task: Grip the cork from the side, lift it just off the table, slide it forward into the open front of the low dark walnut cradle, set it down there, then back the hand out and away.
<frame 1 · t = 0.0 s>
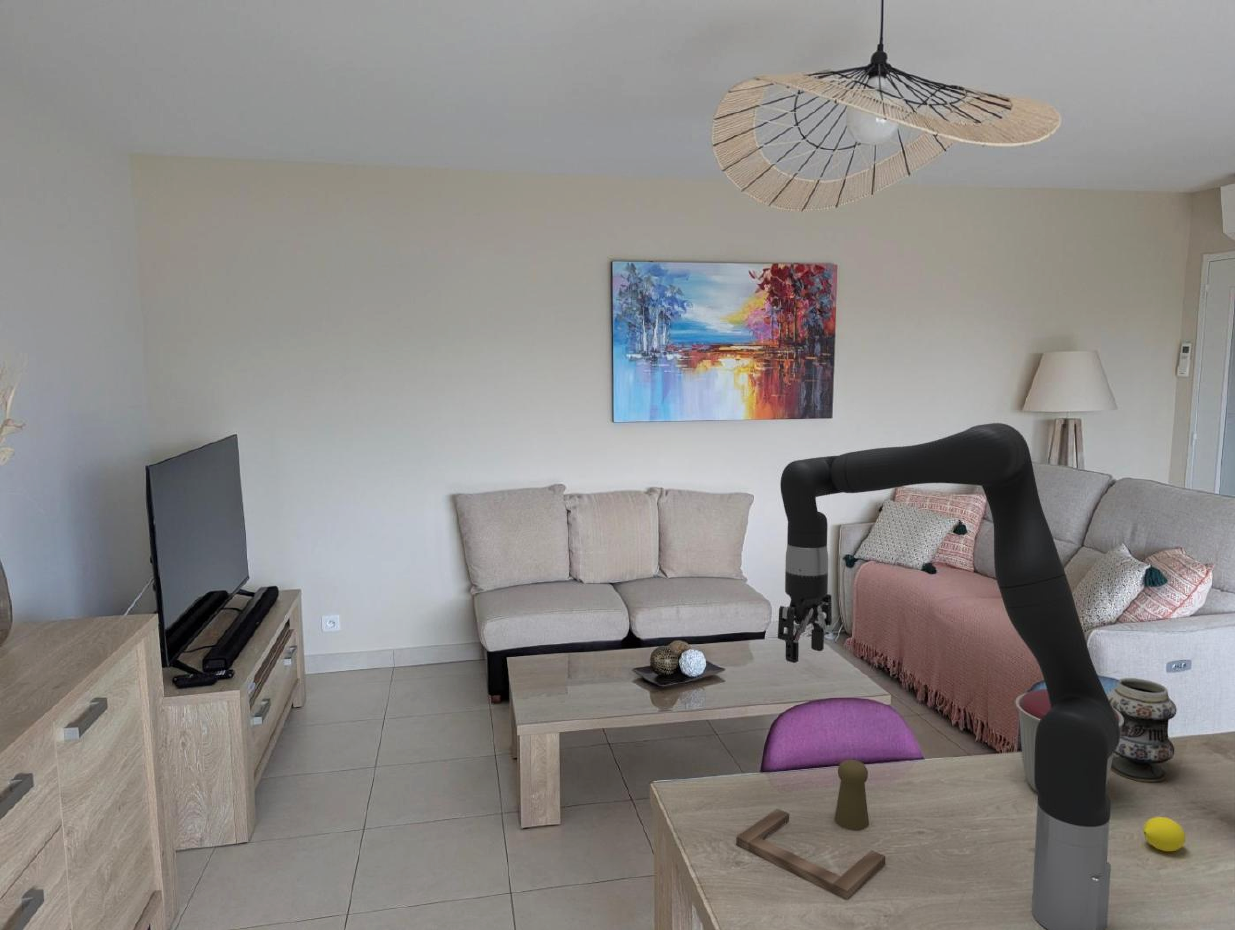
hand: (804, 655, 148), 29 cm above the table, tool pointing down, fingers open, 8 cm apart
lemon: (1162, 849, 137), on the table
walnut cradle: (813, 851, 137), on the table
cork: (851, 822, 146), on the table
apothecary jar: (1136, 771, 164), on the table
canister: (1063, 792, 156), on the table
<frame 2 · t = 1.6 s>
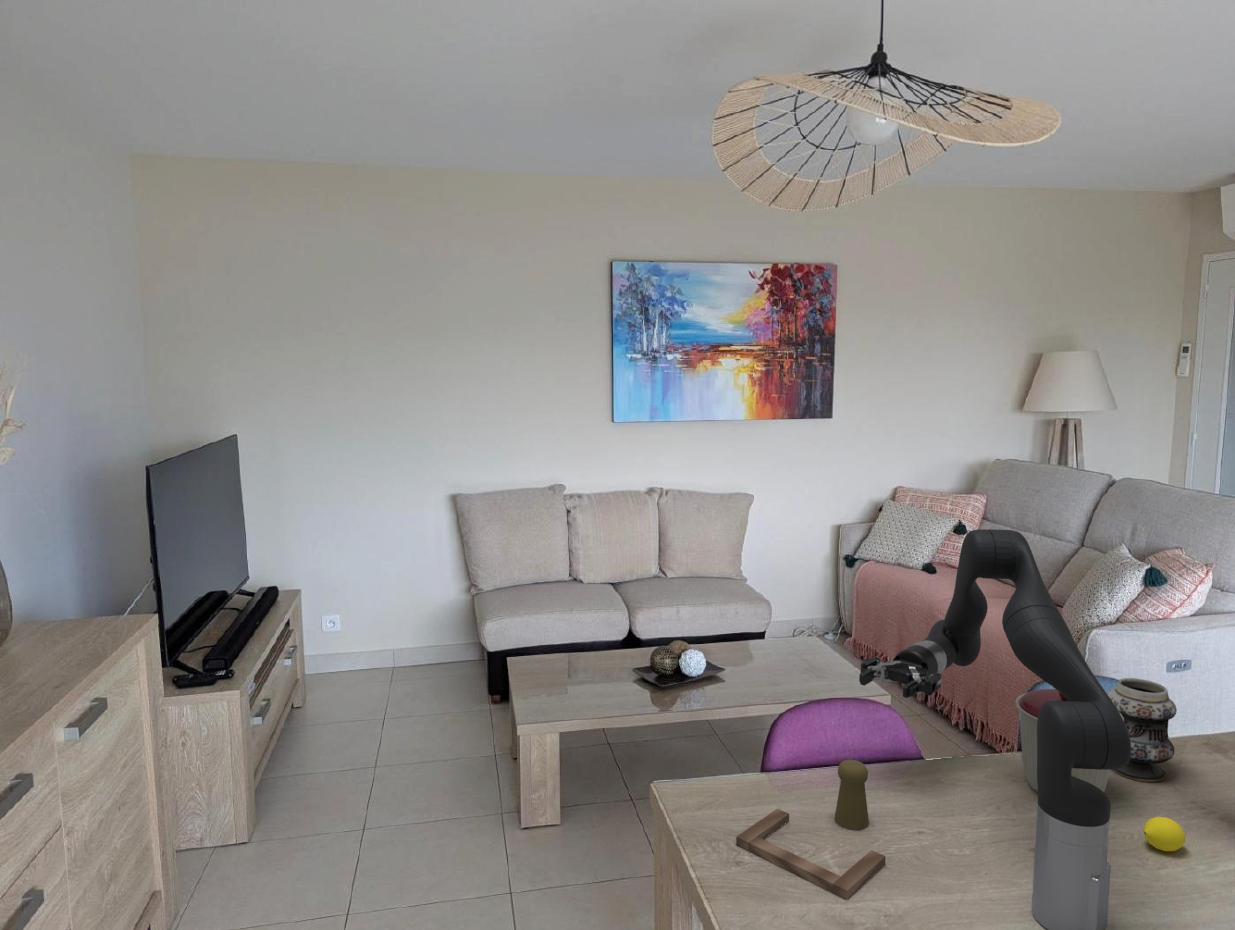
hand: (883, 686, 152), 22 cm above the table, tool horizontal, fingers open, 8 cm apart
nothing on the table moved.
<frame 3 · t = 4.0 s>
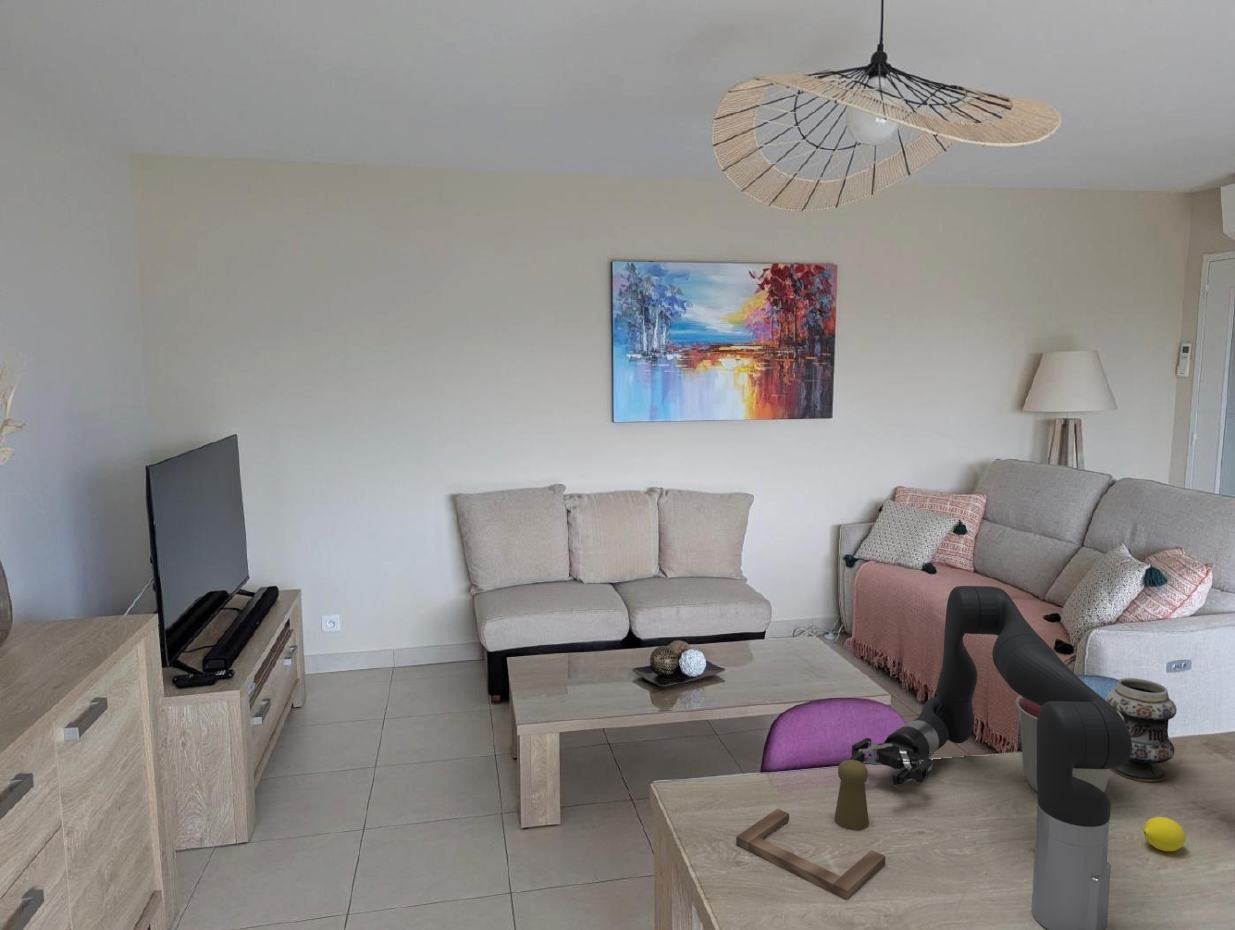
hand: (873, 772, 151), 6 cm above the table, tool horizontal, fingers open, 8 cm apart
nothing on the table moved.
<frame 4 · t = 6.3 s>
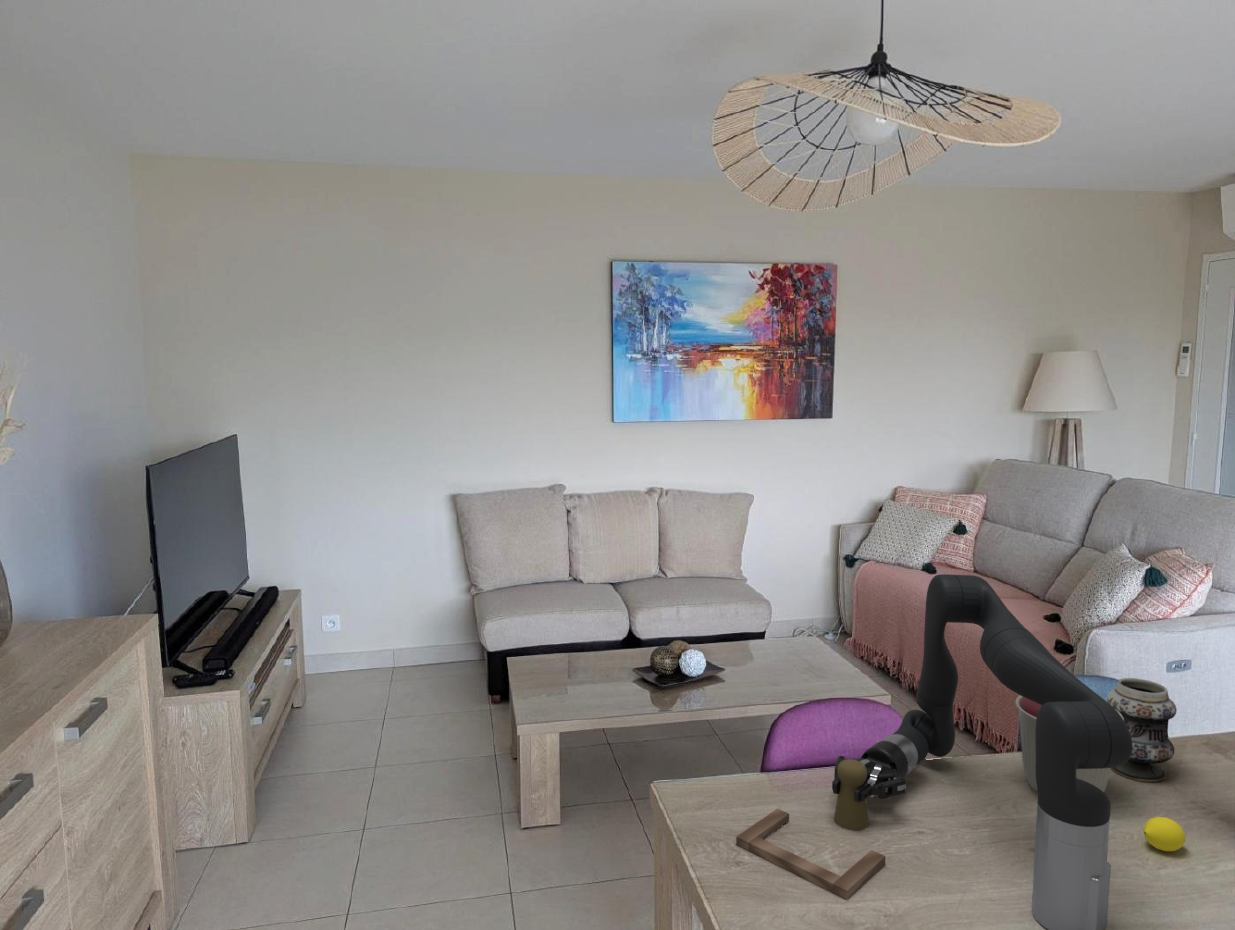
hand: (845, 792, 144), 7 cm above the table, tool horizontal, fingers closed on cork, 3 cm apart
cork: (851, 821, 146), on the table, touching gripper
everything else where it was.
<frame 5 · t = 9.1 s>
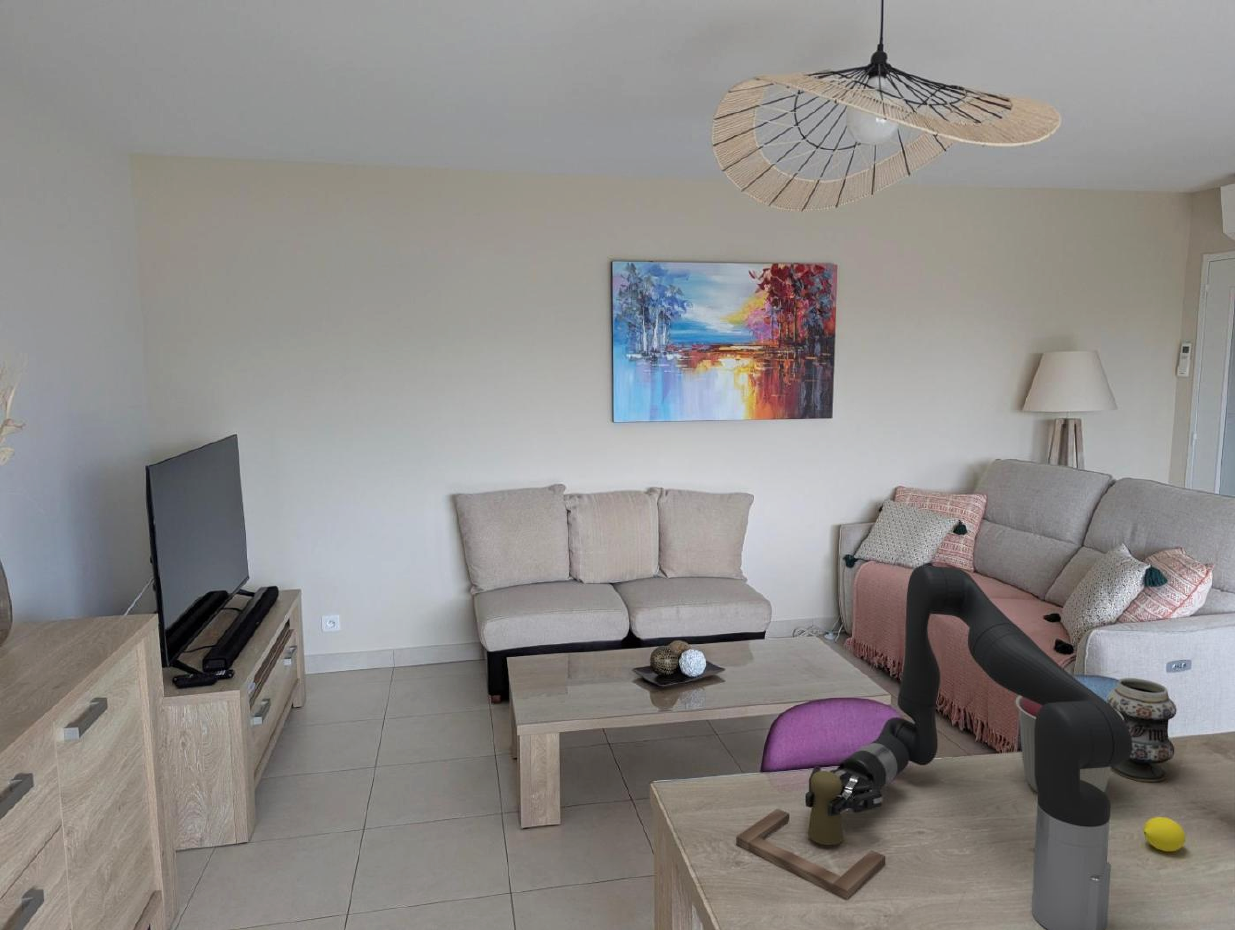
hand: (818, 806, 138), 7 cm above the table, tool horizontal, fingers closed on cork, 3 cm apart
cork: (825, 835, 141), point 1 cm above the table, touching gripper
everything else where it was.
when the fingers open (7 cm above the table, at t = 12.2 s): cork stays where it is, on the table.
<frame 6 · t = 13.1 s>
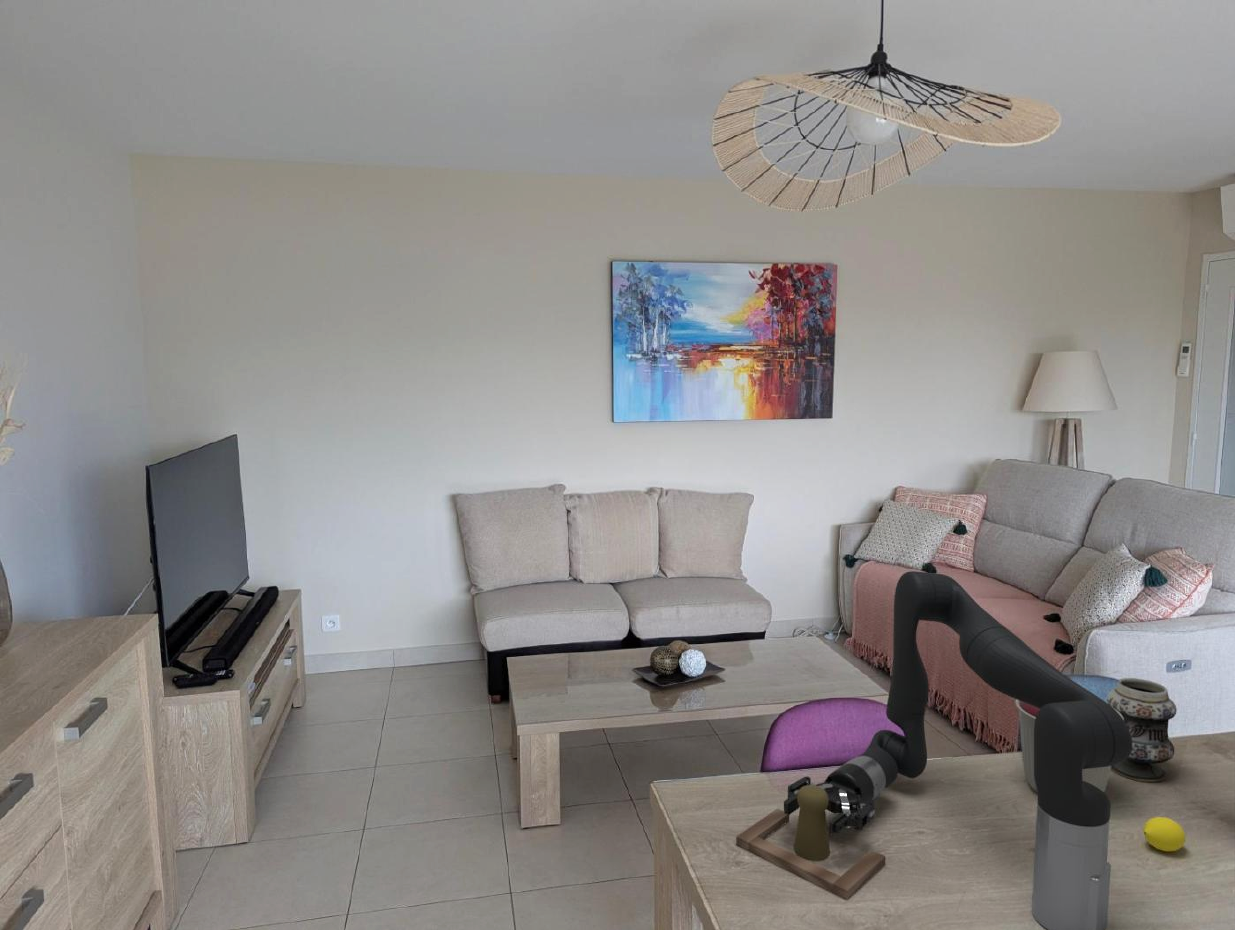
hand: (807, 819, 135), 7 cm above the table, tool horizontal, fingers open, 8 cm apart
cork: (811, 851, 138), on the table
everything else where it was.
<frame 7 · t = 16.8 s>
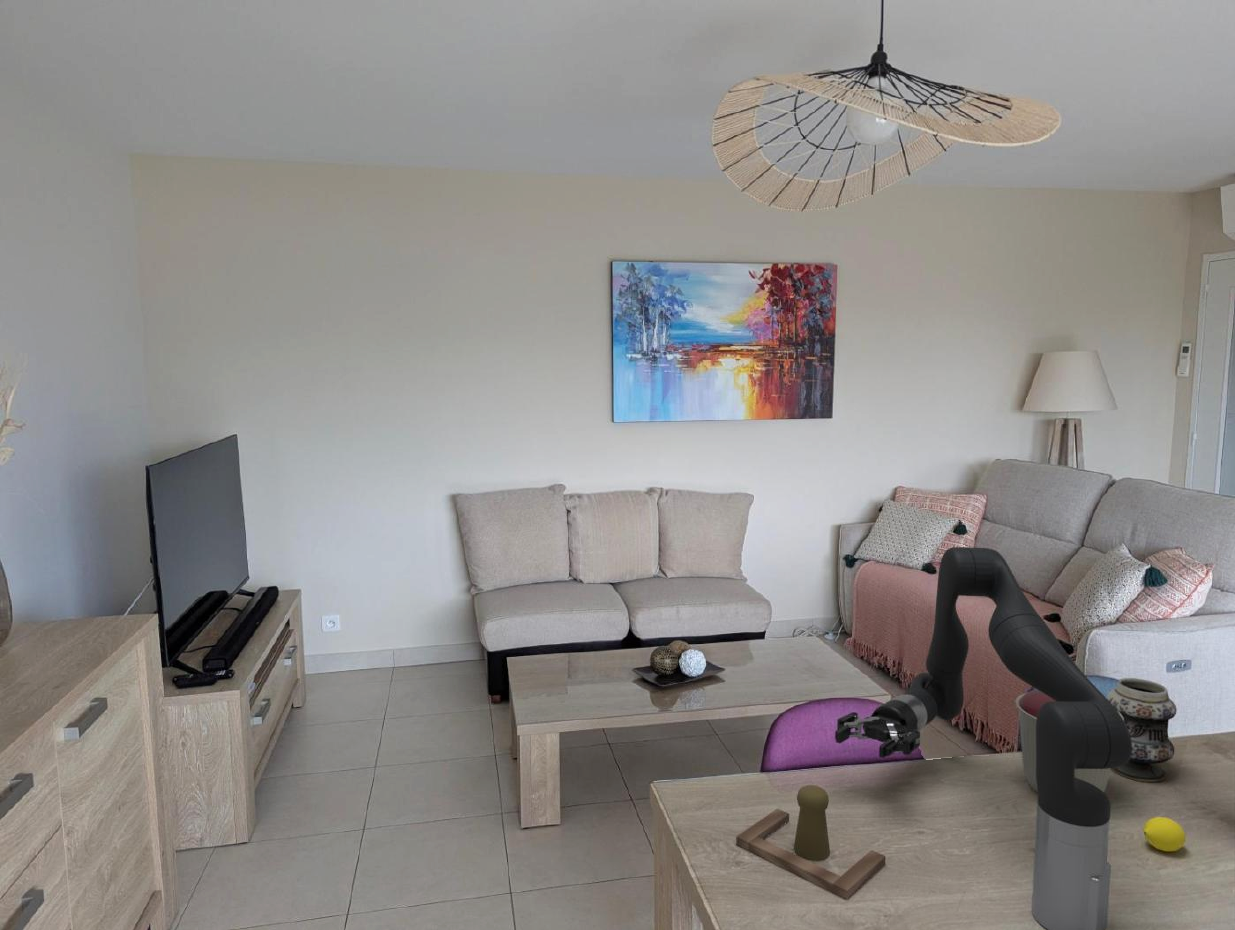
hand: (858, 745, 146), 14 cm above the table, tool horizontal, fingers open, 8 cm apart
nothing on the table moved.
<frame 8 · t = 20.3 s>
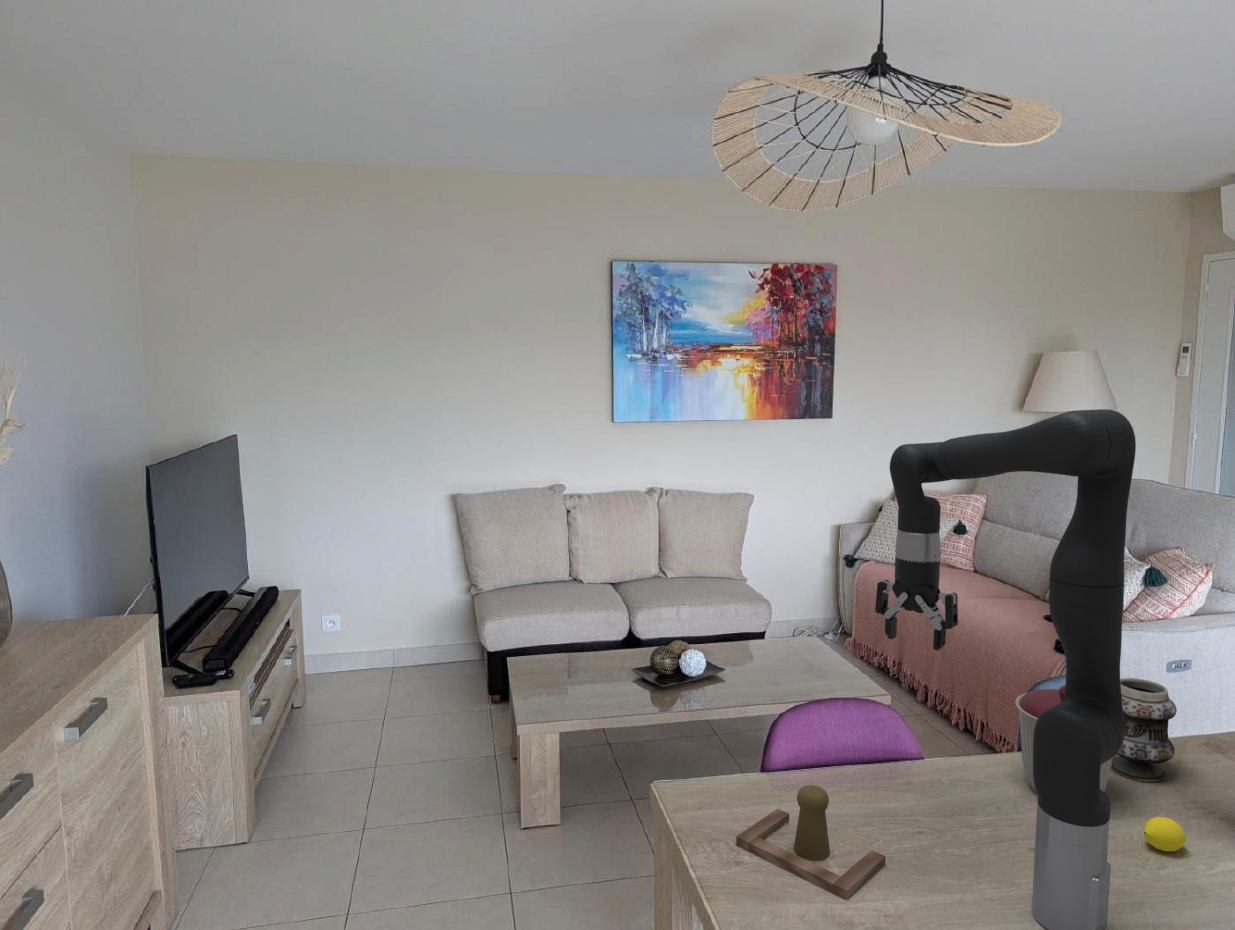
hand: (914, 643, 146), 32 cm above the table, tool pointing down, fingers open, 8 cm apart
nothing on the table moved.
at the end: cork inside the target area on the walnut cradle (0.8 cm from its centre), point 0.0 cm above the walnut cradle's base; cork tilted 0°; the gripper is holding nothing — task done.
